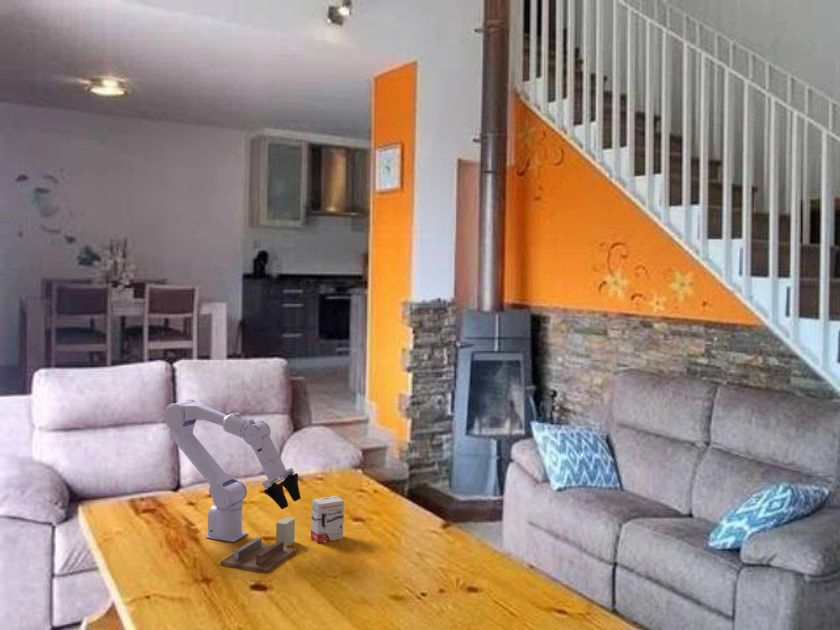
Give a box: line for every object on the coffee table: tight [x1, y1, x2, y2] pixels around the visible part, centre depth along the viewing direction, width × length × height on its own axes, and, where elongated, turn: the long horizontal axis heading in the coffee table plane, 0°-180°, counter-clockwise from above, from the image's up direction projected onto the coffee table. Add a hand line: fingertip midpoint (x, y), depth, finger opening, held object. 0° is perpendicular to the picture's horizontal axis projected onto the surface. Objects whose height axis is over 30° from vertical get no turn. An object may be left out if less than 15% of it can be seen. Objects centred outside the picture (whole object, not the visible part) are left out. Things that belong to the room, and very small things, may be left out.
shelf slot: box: [219, 541, 297, 574], centre depth 213 cm, size 14×16×4 cm
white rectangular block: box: [275, 516, 296, 548], centre depth 225 cm, size 3×6×7 cm, turn 161°
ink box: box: [310, 495, 345, 544], centre depth 230 cm, size 8×5×12 cm, turn 123°
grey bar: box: [233, 537, 263, 561], centre depth 214 cm, size 2×12×2 cm, turn 161°
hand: (291, 503), depth 224 cm, fingers open, 7 cm apart
